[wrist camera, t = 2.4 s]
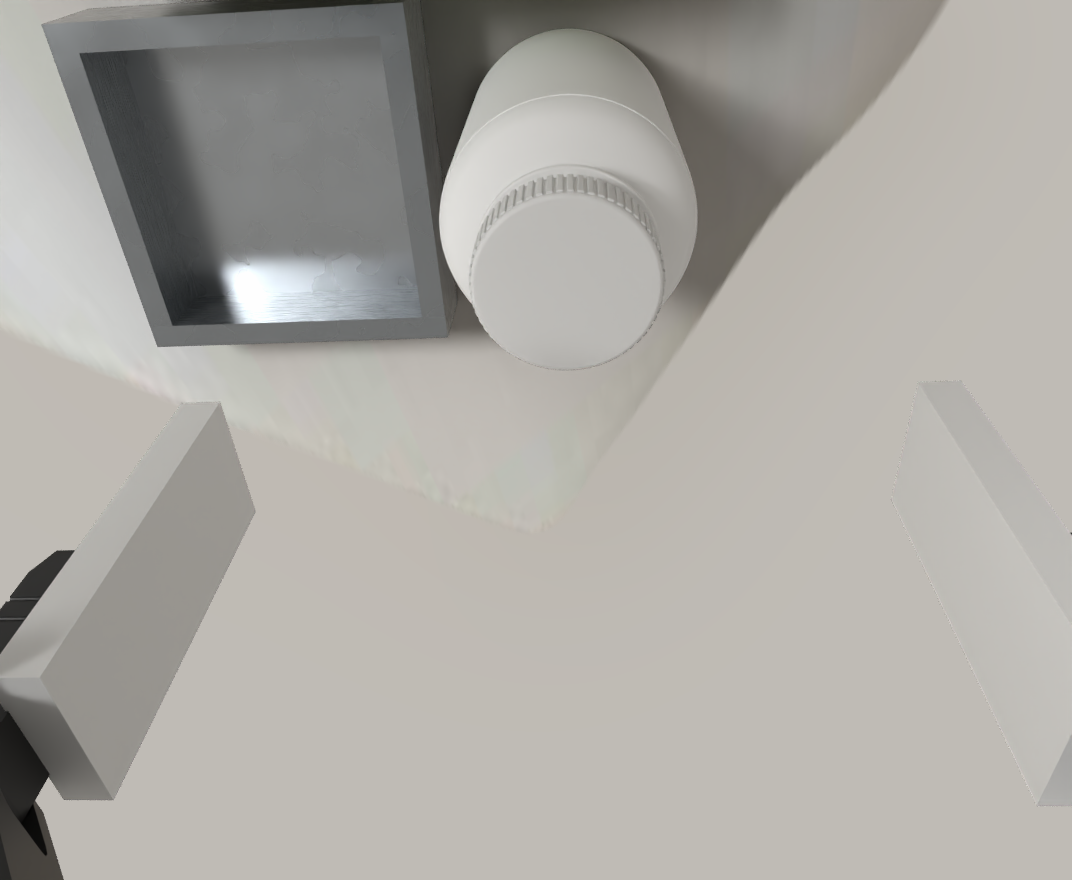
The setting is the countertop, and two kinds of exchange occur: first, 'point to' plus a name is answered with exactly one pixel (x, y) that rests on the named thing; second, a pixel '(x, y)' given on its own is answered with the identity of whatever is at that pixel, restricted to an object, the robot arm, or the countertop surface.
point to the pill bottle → (568, 201)
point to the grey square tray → (266, 165)
